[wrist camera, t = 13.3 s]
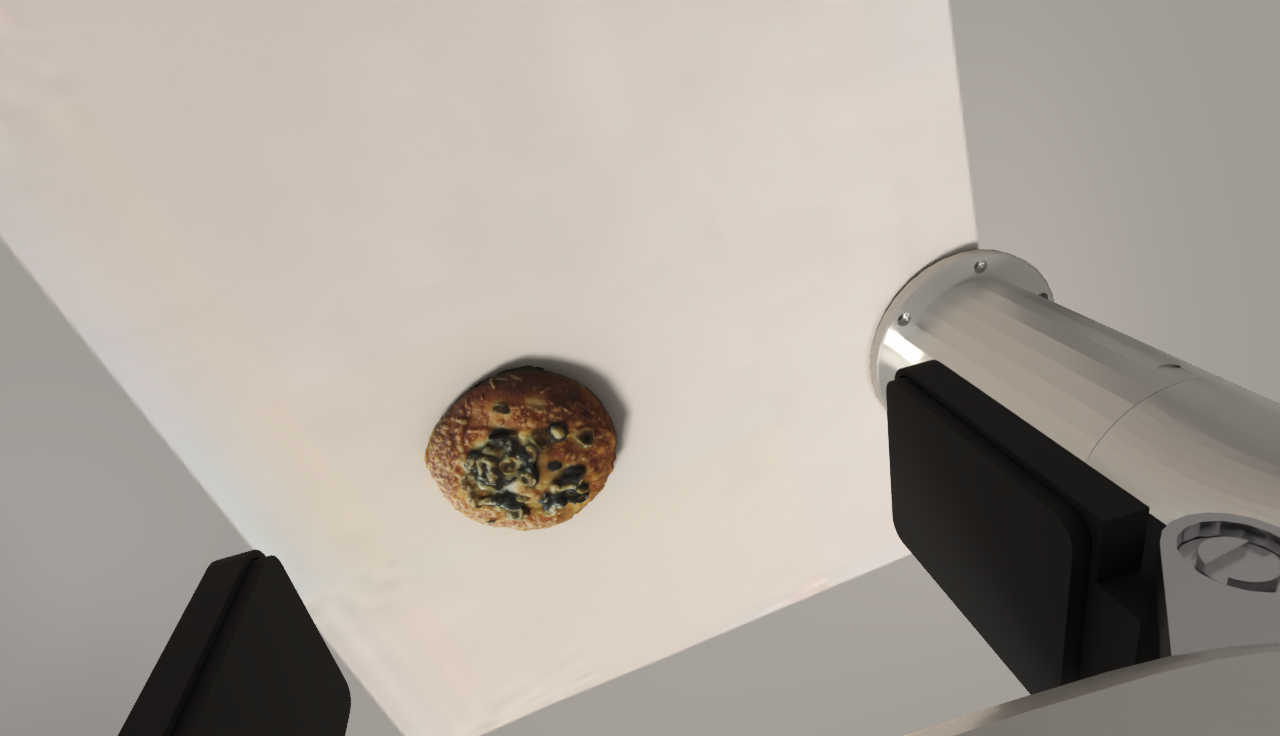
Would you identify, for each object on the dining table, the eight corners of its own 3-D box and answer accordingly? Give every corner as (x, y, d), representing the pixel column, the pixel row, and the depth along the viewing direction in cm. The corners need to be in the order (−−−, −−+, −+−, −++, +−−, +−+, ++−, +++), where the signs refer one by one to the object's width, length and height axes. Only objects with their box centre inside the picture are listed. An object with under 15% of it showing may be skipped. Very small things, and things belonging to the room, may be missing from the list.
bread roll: (596, 341, 41) (610, 390, 37) (625, 481, 47) (639, 536, 43) (403, 385, 40) (396, 440, 36) (459, 521, 46) (457, 581, 42)
